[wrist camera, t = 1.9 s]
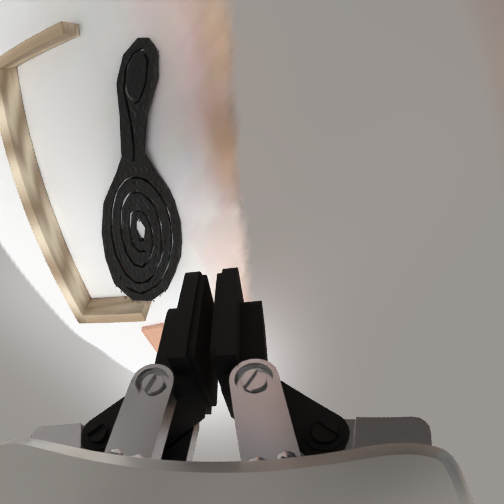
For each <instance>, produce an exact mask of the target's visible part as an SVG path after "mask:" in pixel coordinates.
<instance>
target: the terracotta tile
mask: <svg viewBox="0 0 504 504" xmlns="http://www.w3.org/2000/svg"><path fill="white" fill-rule="evenodd" d="M163 327H164V323H161V324H156V325H150V326H145V327H142V330H141V331H142V332H143V334H144V335H145V336H146V338H147V339H148V341H149V342H150V343H151V345H152V346H153V348H154V349H155V350H156V352H158V348H159V343H160V339H161V335H162V331H163Z"/></svg>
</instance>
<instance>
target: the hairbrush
mask: <svg viewBox="0 0 504 504" xmlns="http://www.w3.org/2000/svg"><path fill="white" fill-rule="evenodd" d="M141 49H144V51H145V52H144V51H142V50H141ZM156 49H157V48H156V47H155V45H154V44H153V43H152V41H151V40H150V39H149V38H137V39H136V41H135V42H134V43H133V44H132V45H131V46H130V48H129V49H128V50H127V51H126V52H125V53H124V55H123V58H122V62H121V66H120V70H119V74H118V79H117V94H118V104H119V114H120V136H121V155H122V157H121V160H120V163H119V166H118V169H117V172H116V175H115V177H114V179H113V182H112V184H111V186H110V189H109V191H108V193H107V196H106V198H105V201H104V205H103V220H102V239H103V246H104V252H105V258H106V261H107V264H108V267H109V270H110V273H111V276H112V279H113V281H114V284H115V285H116V287H119V288H120V289H121V290H122V291H123V292H124V293H125V294H126V295H127V296H128V297H129V298H130V299H131V300H133V301H137V303H138V301H150V303H151V301H152V300H153V299H155V298H156V297H157V296H159V295H160V294H161V293H163V292H164V291H165V292H166V290H167V289H168V287H169V285H170V283H171V281H172V279H173V276H174V274H175V272H176V269H177V266H178V263H179V260H180V257H181V245H182V232H181V222H180V218H179V214H178V211H177V207H176V204H175V200H174V199H173V197H172V194H170V193H171V192H169V191H170V189H169V188H168V189H169V191H168V189H167V188H166V186H167V185H166V184H164V183H165V182H164V181H163V180H162V178H161V177H160V176H159V174H158V173H157V172H156V170H155V169H154V167H153V166H152V164H151V162H150V161H149V159H148V158H147V156H146V155H145V140H146V128H147V117H148V112H149V108H150V105H151V101H152V98H153V94H154V91H155V87H156V84H157V81H158V59H159V52H158V55H157V51H158V50H157V51H156ZM140 50H141V51H140ZM140 99H141V100H140ZM139 101H140V102H139ZM132 124H133V125H132ZM132 176H136V177H132ZM130 177H132V178H130ZM127 178H130V179H129V180H127V181H125V182H124V184H123V185H122V186H121V187H120V189H119V190H118V188H119V186H120V185H121V184H122V183H123V181H124V180H125V179H127ZM165 185H166V186H165ZM117 190H118V192H117ZM136 190H138V191H139V192H137V191H136ZM116 192H117V196H116V200H115V204H114V208H113V203H114V198H115V195H116ZM131 192H133V193H131ZM159 192H160V193H159ZM128 193H130V194H129V196H128V197H127V199H126V201H125V203H124V205H123V200H124V198H125V197H126V196H127V194H128ZM163 199H164V200H163ZM152 200H153V202H152ZM153 203H154V204H153ZM122 205H123V207H122ZM166 206H167V207H166ZM112 208H113V218H112ZM167 208H168V210H169V213H170V217H171V222H170V217H169V214H168V210H167ZM138 209H141V210H142V211H143V212H142V211H141V210H138ZM121 210H122V226H121ZM135 210H137V211H135ZM133 211H135V212H133ZM131 212H133V213H132V217H131V229H130V213H131ZM148 217H149V219H148ZM138 219H140V220H139V222H140V221H141V222H142V224H143V225H144V227H145V235H144V238H141V239H140V237H139V234H138V231H137V229H136V226H137V221H138ZM159 219H160V220H159ZM149 220H150V221H149ZM160 221H161V224H162V232H161V226H160ZM171 225H172V229H171ZM151 226H152V228H151ZM152 229H153V232H152ZM172 233H173V241H174V242H173V247H172ZM122 235H123V236H122ZM161 235H162V239H161ZM131 236H132V238H131ZM132 239H133V240H132ZM153 243H154V244H153ZM153 246H154V249H153ZM171 248H172V252H171ZM152 249H153V253H152ZM162 251H163V256H162V260H161V263H160V265H159V267H158V269H157V271H156V273H155V274H154V272H155V270H156V268H157V265H158V264H159V262H160V258H161V255H162ZM151 253H152V257H151V259H150V260H149V261H148V262H147V263H145V262H146V261H147V260H148V259H149V258H150V256H151ZM170 253H171V257H170ZM169 259H170V263H169V267H168V270H167V271H166V273H165V275H164V277H163V278H162V276H163V274H164V272H165V269H166V267H167V265H168V262H169ZM144 263H145V264H144ZM153 274H154V275H153ZM150 276H151V277H150ZM149 277H150V278H149ZM148 278H149V279H148ZM161 278H162V279H161ZM158 281H159V282H158ZM122 291H121V292H122ZM160 296H161V295H160ZM125 299H127V297H125ZM133 301H132V302H133ZM153 301H154V300H153ZM147 303H148V302H147ZM140 304H141V303H140Z"/></svg>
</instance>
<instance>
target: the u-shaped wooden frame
mask: <svg viewBox="0 0 504 504" xmlns="http://www.w3.org/2000/svg"><path fill="white" fill-rule="evenodd" d="M78 36H80V35H79V26H78V24H73V23H68V22H62V21H61V22H59V23H57V24H55V25H53V26H51V27H49V28H47V29H45V30H44V31H42V32H40V33H38V34H36V35H34V36H33V37H31V38H29V39H27V40H26V41H24V42H22V43H20V44H19V45H17V46H15V47H14V48H12V49H11V50H9V51H7V52H6V53H4V54H3V55H1V56H0V132H1V136H2V140H3V144H4V148H5V151H6V155H7V158H8V162H9V165H10V169H11V172H12V175H13V178H14V181H15V184H16V187H17V190H18V193H19V196H20V199H21V202H22V205H23V207H24V210H25V213H26V215H27V218H28V220H29V223H30V225H31V228H32V230H33V233H34V235H35V237H36V240H37V242H38V244H39V247H40V249H41V251H42V253H43V255H44V258H45V260H46V262H47V264H48V266H49V268H50V270H51V272H52V274H53V276H54V278H55V280H56V282H57V284H58V286H59V288H60V290H61V292H62V294H63V296H64V298H65V299H66V301H67V303H68V305H69V307H70V308H71V310H72V312H73V314H74V315H75V317H76V319H77V321H78V322H79V323H111V322H136V321H145V320H146V317H147V314H148V311H149V307H150V304H151V303H150V301H138V303H137V301H133V300H131V299H130V298H129V297H128V296H125V297H127V299H125V297H111V298H96V299H91V298H90V296H89V294H88V292H87V289H86V287H85V285H84V283H83V281H82V279H81V277H80V275H79V273H78V271H77V268H76V266H75V264H74V262H73V259H72V257H71V255H70V253H69V250H68V248H67V246H66V243H65V241H64V238H63V236H62V233H61V231H60V228H59V226H58V223H57V221H56V218H55V215H54V213H53V210H52V207H51V204H50V201H49V199H48V196H47V193H46V190H45V187H44V184H43V180H42V177H41V174H40V171H39V167H38V164H37V161H36V157H35V154H34V150H33V146H32V142H31V138H30V134H29V130H28V126H27V122H26V117H25V112H24V108H23V103H22V97H21V92H20V86H19V80H18V73H17V66H19V65H21V64H23V63H24V62H26V61H28V60H30V59H32V58H34V57H35V56H37V55H39V54H41V53H43V52H45V51H47V50H49V49H51V48H53V47H55V46H57V45H60V44H62V43H64V42H66V41H68V40H71V39H73V38H75V37H78ZM132 301H133V302H132ZM147 302H148V303H147ZM140 303H141V304H140Z"/></svg>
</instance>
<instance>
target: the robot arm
mask: <svg viewBox="0 0 504 504" xmlns="http://www.w3.org/2000/svg"><path fill="white" fill-rule="evenodd" d="M263 316H264V315H263V308H262V301H254V302H244V300H243V294H242V288H241V283H240V277H239V271H238V268H228V269H223V270H222V273H218V274H217V281H216V290H215V301H214V302H213V298H212V294H211V290H210V286H209V282H208V278H207V275H202V273H201V272H200V271H199V272H190V273H185V276H184V280H183V285H182V289H181V293H180V298H179V302H178V306H177V308H175V309H169V310H168V312H167V315H166V319H165V323H164V327H163V331H162V335H161V339H160V343H159V348H158V352H157V356H156V361H155V364H150V365H147V366H144V367H143V368H141V369H139V370H138V371H137V372H136V373H135V375H134V376H133V378H132V380H131V383H130V385H129V388H128V390H127V393H126V395H125V397H123V398H122V399H120V400H119V401H117V402H116V403H115V404H113V405H112V406H111V407H109V408H107V409H106V410H105V411H103V412H102V413H100V414H99V415H97V416H96V417H95V418H93V419H92V420H90V421H89V422H88V423H87V424H86V425H82V424H81V423H78V424H68V425H57V426H43V427H39V428H37V429H36V430H35V431H34V432H33V434H32V435H31V438H17V439H11V440H6V441H3V442H1V443H0V504H474V503H473V499H472V496H471V493H470V490H469V487H468V484H467V481H466V479H465V476H464V474H463V472H462V470H461V468H460V466H459V464H458V463H457V461H456V460H455V459H454V457H453V456H452V455H451V454H450V453H448V452H447V451H445V450H444V449H442V448H439V447H435V446H432V440H431V431H430V427H429V425H428V424H427V423H426V421H424V420H422V419H421V418H418V417H356V419H343V418H342V417H340V416H339V415H337V414H336V413H334V412H332V411H330V410H329V409H327V408H325V407H323V406H322V405H320V404H318V403H317V402H315V401H313V400H312V399H310V398H308V397H307V396H305V395H303V394H302V393H300V392H298V391H297V390H295V389H294V388H292V387H290V386H289V385H287V384H285V383H284V382H282V381H280V378H279V374H278V372H277V369H276V367H274V365H272V364H271V363H270V362H268V359H267V347H266V335H265V324H264V317H263ZM218 381H219V383H220V386H221V391H222V394H223V396H224V399H225V402H226V404H227V407H228V410H229V412H230V415H231V417H232V418H234V419H235V426H236V433H237V438H238V445H239V452H240V458H241V461H237V462H193V461H192V459H193V454H194V450H195V445H196V441H197V436H198V432H199V422H200V421H201V420H202V419H204V418H205V414H211V409H212V406H216V404H217V388H218Z"/></svg>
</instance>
